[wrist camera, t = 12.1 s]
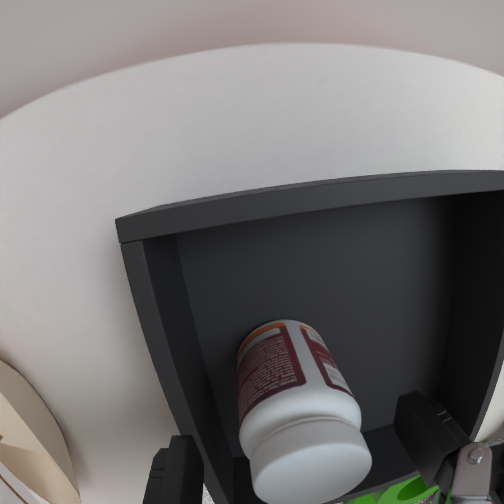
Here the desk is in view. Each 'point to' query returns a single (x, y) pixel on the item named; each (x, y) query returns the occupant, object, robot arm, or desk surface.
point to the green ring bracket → (398, 493)
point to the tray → (326, 302)
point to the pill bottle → (297, 417)
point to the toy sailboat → (32, 444)
